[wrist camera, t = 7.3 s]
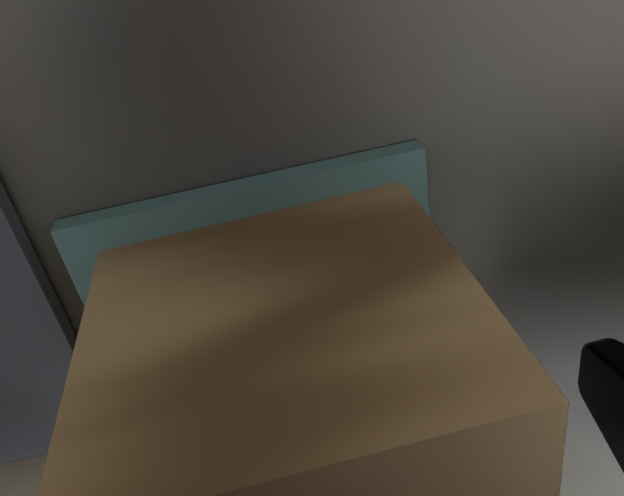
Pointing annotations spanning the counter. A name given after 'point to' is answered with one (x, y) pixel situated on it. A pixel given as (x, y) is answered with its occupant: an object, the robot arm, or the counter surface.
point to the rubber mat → (234, 203)
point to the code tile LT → (28, 344)
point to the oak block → (302, 366)
